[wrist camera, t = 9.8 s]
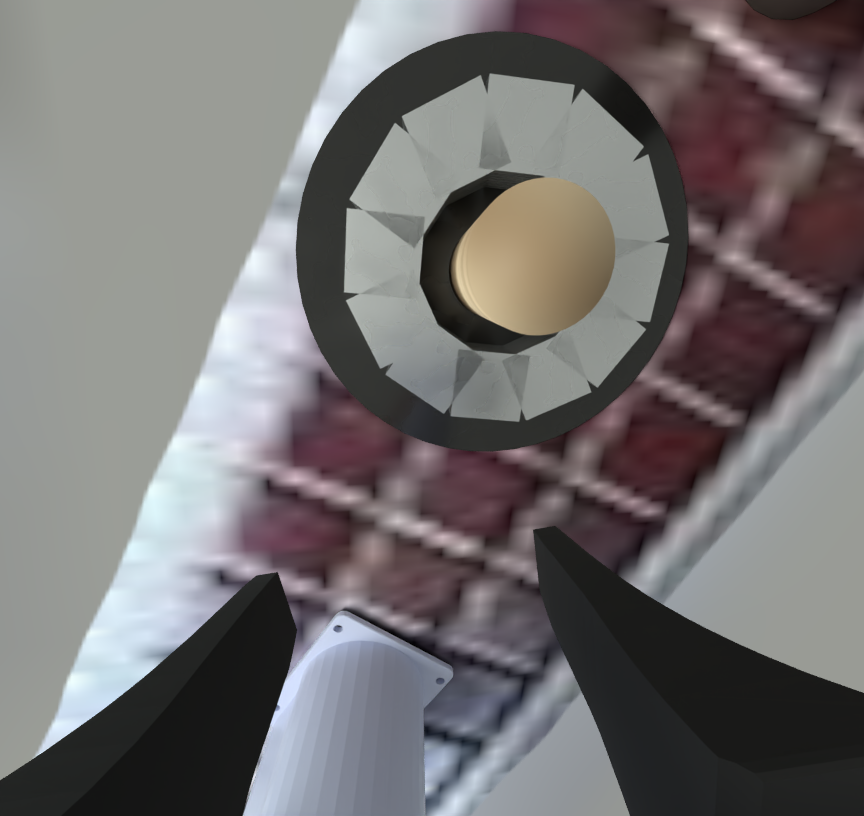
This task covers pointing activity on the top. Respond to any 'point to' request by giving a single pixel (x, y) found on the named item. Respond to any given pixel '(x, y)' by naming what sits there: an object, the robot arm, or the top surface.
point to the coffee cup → (788, 7)
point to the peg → (535, 257)
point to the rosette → (457, 211)
